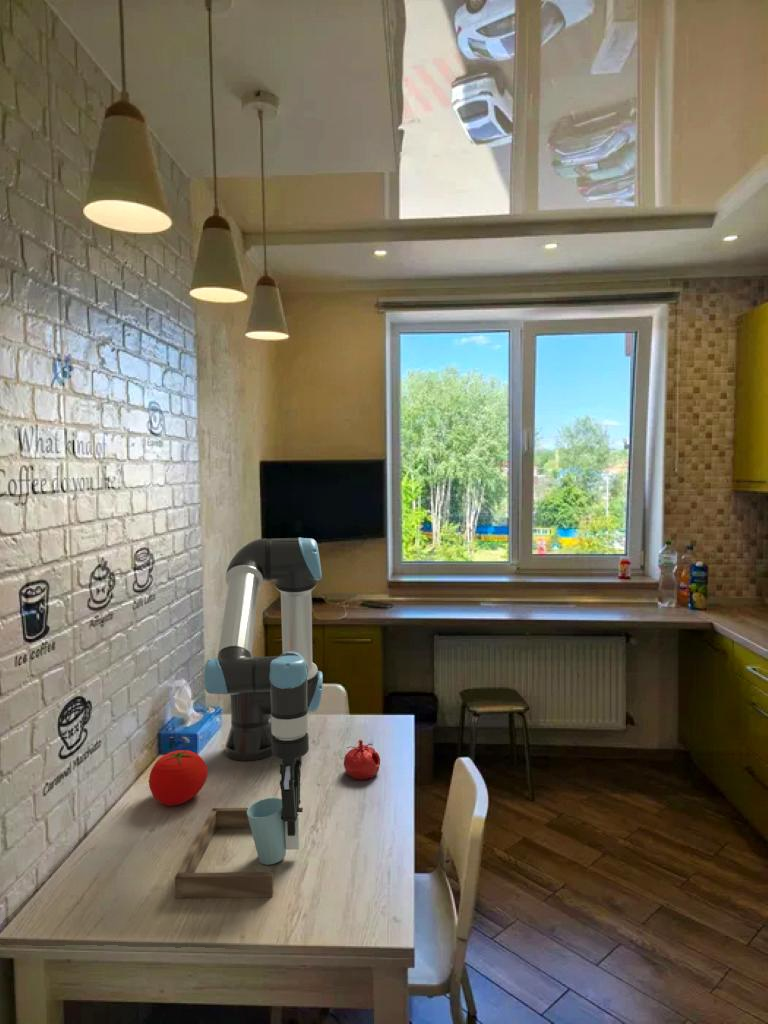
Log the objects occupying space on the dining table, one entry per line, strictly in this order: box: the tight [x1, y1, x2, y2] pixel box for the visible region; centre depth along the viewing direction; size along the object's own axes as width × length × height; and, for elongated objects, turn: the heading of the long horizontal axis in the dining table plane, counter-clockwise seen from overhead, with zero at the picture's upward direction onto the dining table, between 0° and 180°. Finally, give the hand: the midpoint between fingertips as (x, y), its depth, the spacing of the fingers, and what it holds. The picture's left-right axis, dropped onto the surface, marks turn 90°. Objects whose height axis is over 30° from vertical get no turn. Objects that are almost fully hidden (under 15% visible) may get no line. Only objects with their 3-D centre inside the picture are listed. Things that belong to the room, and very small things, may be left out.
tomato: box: [148, 749, 209, 807], centre depth 145 cm, size 13×14×12 cm
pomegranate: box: [343, 739, 381, 781], centre depth 157 cm, size 10×10×9 cm
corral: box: [174, 807, 274, 899], centre depth 122 cm, size 24×18×4 cm
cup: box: [247, 797, 287, 865], centre depth 121 cm, size 8×8×10 cm
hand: (292, 847), depth 121 cm, fingers closed
